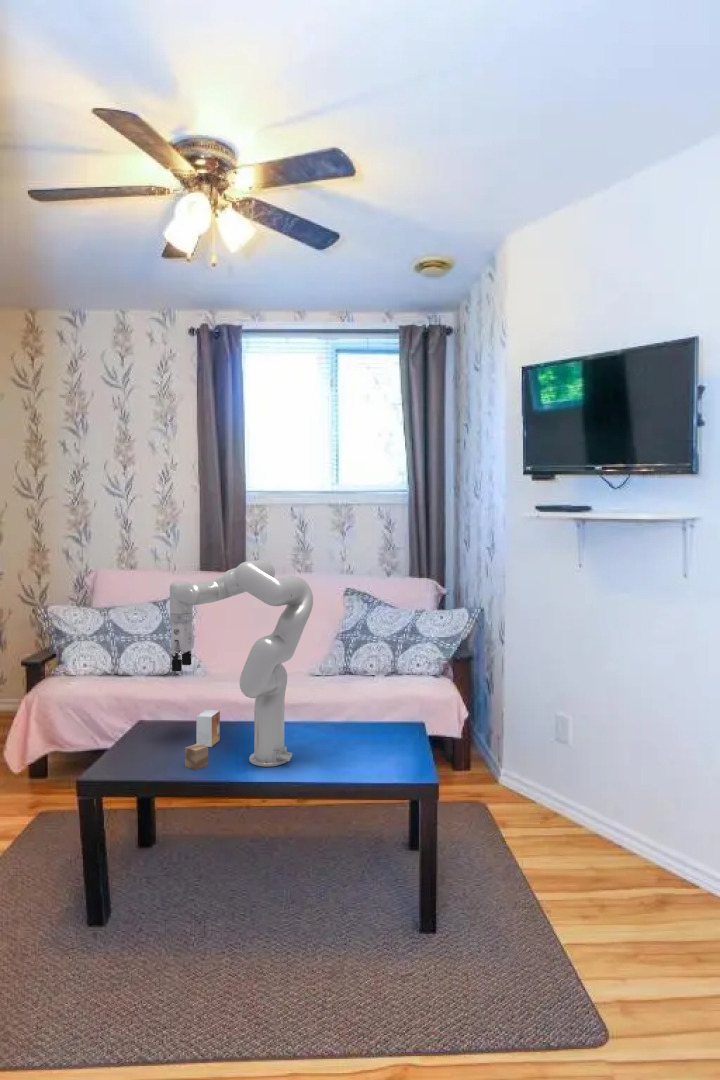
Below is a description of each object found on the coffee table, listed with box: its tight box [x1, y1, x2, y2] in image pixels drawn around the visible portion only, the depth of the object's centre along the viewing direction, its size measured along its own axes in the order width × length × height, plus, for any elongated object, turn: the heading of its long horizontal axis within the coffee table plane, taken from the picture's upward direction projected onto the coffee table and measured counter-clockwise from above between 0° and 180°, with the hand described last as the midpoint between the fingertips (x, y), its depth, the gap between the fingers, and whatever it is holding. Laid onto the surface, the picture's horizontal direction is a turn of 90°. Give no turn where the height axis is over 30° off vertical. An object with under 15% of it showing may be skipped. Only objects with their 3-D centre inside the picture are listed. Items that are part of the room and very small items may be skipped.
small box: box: [195, 709, 221, 748], centre depth 230 cm, size 8×6×10 cm
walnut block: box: [184, 743, 209, 771], centre depth 209 cm, size 5×5×6 cm
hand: (181, 668), depth 229 cm, fingers open, 9 cm apart
